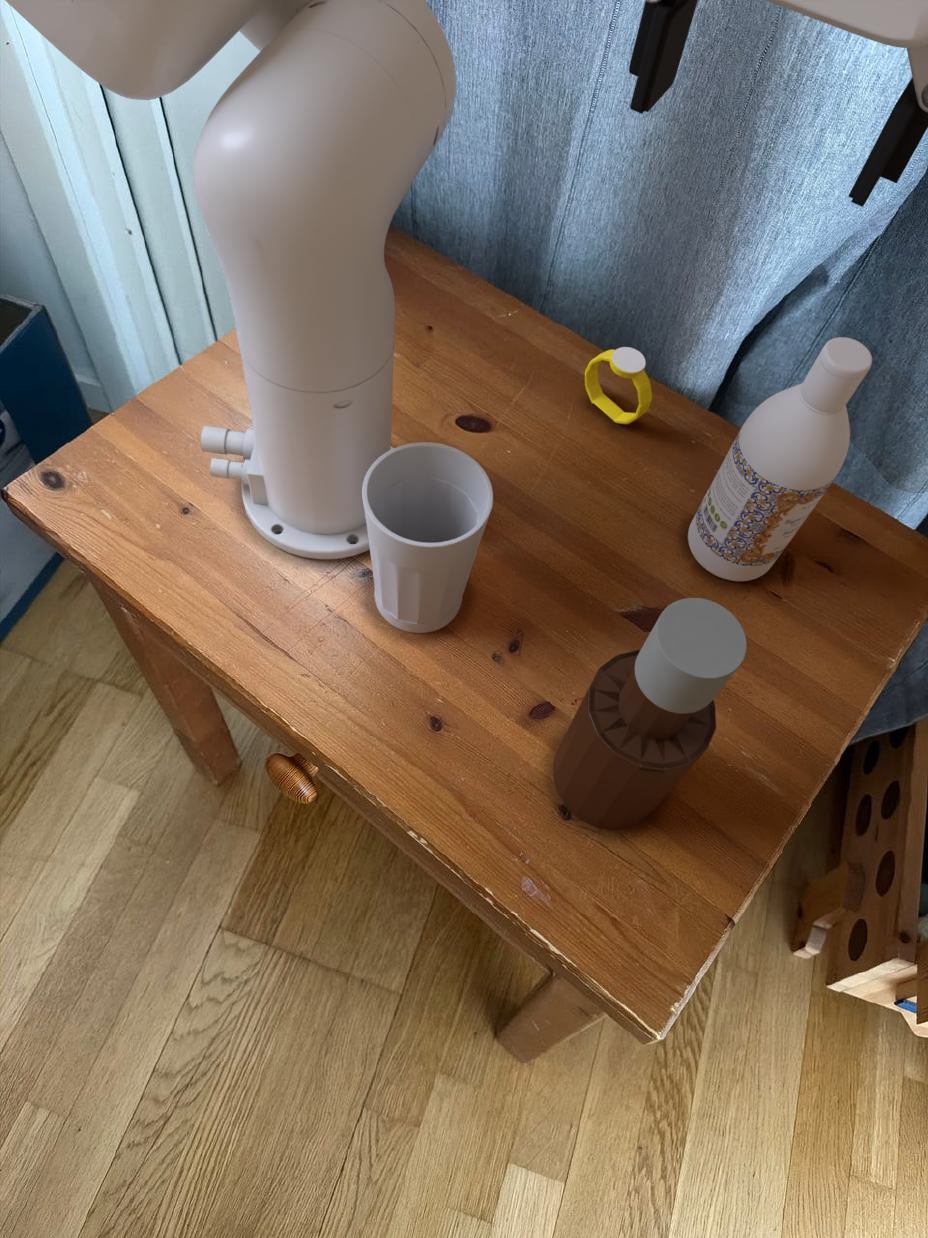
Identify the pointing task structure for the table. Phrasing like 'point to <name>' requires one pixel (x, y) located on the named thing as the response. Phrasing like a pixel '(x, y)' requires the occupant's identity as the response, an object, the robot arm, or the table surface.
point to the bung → (690, 655)
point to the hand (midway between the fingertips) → (755, 141)
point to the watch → (626, 366)
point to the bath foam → (779, 467)
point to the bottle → (625, 749)
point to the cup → (424, 531)
